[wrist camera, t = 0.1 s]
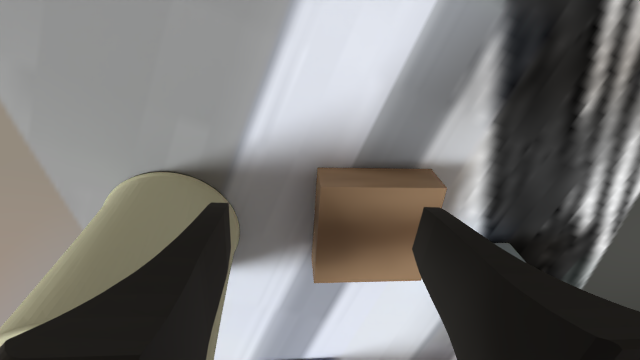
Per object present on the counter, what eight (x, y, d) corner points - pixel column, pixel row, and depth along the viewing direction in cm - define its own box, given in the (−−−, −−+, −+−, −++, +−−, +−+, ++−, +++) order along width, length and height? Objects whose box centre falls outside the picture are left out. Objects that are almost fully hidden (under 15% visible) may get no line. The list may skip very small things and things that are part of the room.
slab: (408, 253, 28) (420, 280, 25) (311, 254, 27) (314, 283, 24) (429, 166, 24) (447, 188, 21) (316, 164, 23) (321, 187, 20)
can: (105, 155, 21) (-76, 321, 10) (252, 189, 23) (226, 355, 12) (100, 263, 25) (-32, 461, 14) (226, 284, 27) (189, 468, 17)
